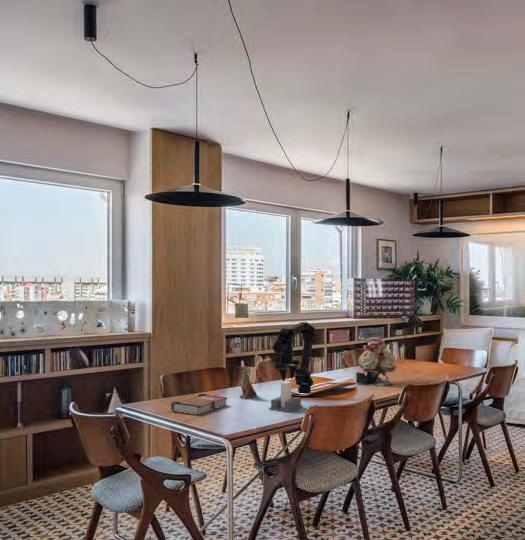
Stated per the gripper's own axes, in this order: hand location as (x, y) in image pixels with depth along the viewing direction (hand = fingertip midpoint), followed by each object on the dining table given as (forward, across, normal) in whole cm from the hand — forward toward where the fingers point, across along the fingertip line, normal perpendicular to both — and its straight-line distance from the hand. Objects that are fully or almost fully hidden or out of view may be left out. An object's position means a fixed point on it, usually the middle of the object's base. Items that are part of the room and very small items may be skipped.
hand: (287, 379), depth 311 cm
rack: (+12, +15, +7) cm, 21 cm away
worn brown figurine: (+12, 0, -26) cm, 28 cm away
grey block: (+11, +15, +7) cm, 20 cm away
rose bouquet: (+12, -77, +23) cm, 82 cm away
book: (+13, +36, -32) cm, 50 cm away
